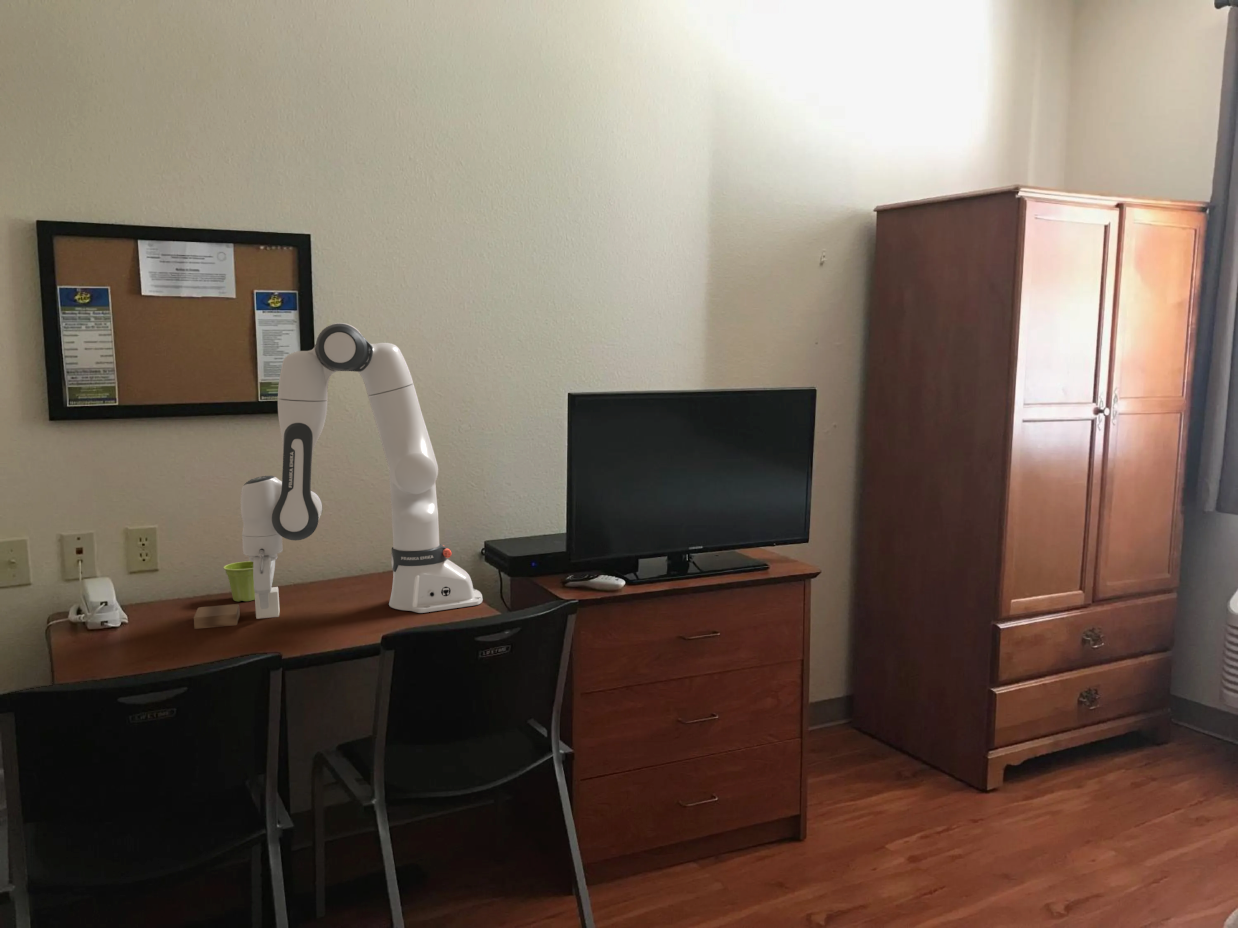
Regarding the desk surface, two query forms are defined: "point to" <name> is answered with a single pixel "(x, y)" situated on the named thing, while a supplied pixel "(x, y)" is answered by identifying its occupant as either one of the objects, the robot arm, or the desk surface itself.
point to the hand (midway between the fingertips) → (265, 602)
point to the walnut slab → (216, 616)
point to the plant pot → (241, 580)
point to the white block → (273, 605)
